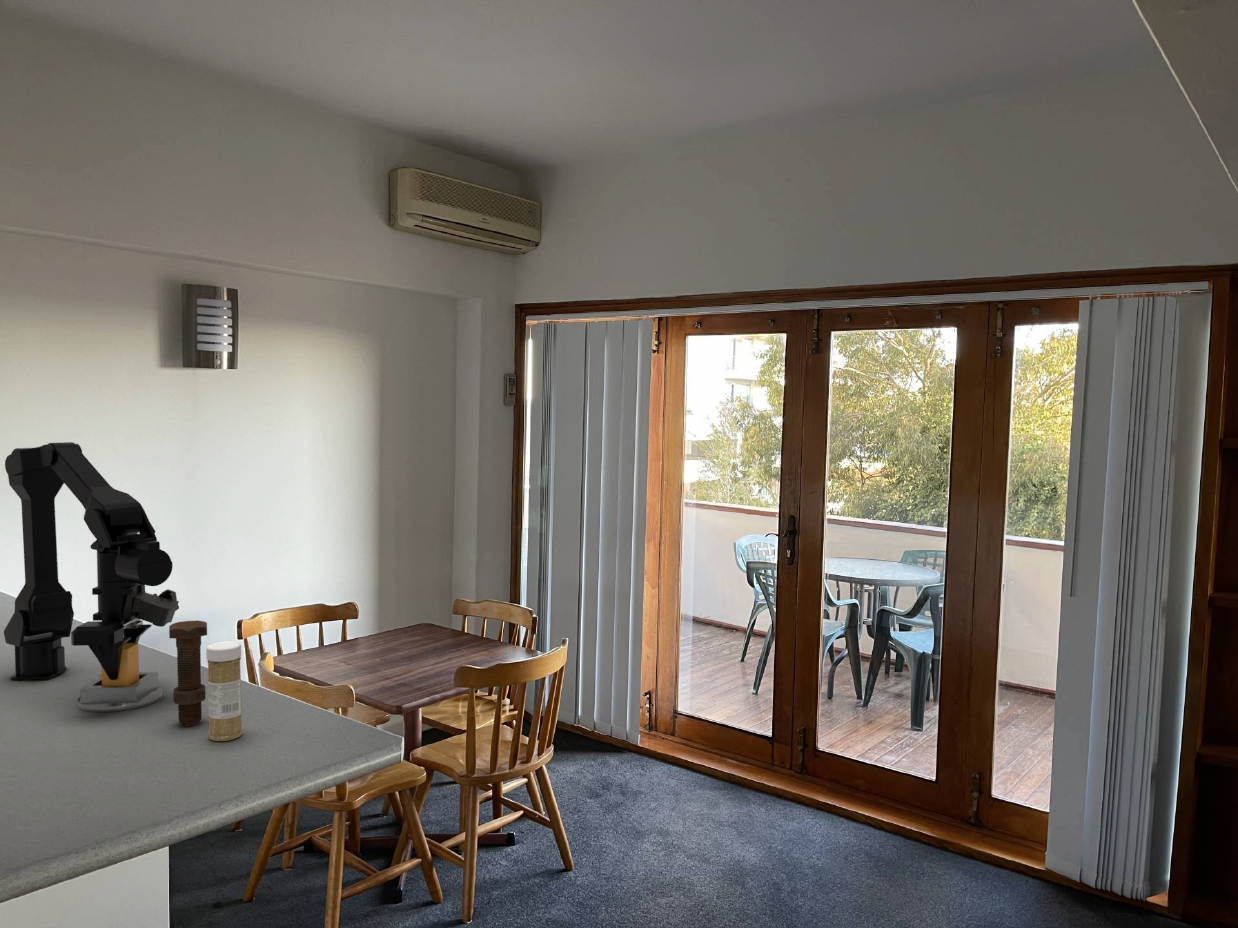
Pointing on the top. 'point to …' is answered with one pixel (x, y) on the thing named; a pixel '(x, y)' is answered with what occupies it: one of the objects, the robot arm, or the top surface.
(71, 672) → the top surface
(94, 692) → the rosette collar
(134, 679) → the orange rectangular block
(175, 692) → the bolt
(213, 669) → the spice jar
